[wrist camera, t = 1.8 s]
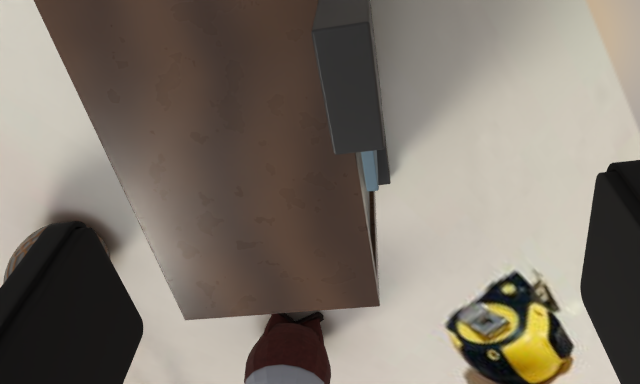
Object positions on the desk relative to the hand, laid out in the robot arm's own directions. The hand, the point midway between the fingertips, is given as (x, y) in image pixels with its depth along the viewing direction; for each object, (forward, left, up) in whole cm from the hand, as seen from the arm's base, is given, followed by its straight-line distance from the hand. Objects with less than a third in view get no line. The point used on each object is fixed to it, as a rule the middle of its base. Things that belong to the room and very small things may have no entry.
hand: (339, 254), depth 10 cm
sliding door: (0, +2, -23) cm, 23 cm away
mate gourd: (+9, +30, -24) cm, 39 cm away
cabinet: (+6, +6, -24) cm, 25 cm away
